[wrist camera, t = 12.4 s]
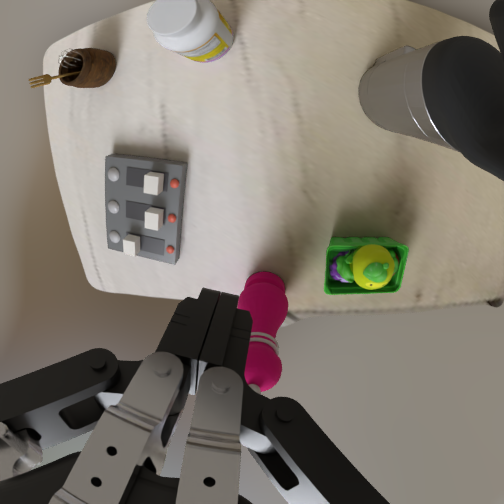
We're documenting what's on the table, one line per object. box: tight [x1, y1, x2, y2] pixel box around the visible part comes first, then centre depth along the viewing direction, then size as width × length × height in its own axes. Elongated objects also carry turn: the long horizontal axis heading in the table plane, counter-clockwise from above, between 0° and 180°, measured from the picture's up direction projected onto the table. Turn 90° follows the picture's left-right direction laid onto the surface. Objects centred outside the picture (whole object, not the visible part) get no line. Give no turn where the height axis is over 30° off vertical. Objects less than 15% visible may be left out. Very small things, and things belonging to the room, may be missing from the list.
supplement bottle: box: [147, 0, 233, 63], centre depth 21 cm, size 7×7×13 cm
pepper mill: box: [238, 272, 288, 394], centre depth 35 cm, size 7×7×20 cm
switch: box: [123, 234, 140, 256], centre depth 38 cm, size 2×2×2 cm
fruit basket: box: [324, 237, 409, 295], centre depth 34 cm, size 11×9×11 cm
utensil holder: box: [29, 48, 116, 88], centre depth 24 cm, size 6×6×12 cm
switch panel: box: [105, 154, 187, 265], centre depth 38 cm, size 15×12×2 cm
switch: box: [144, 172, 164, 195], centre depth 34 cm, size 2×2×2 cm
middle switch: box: [145, 207, 164, 231], centre depth 36 cm, size 2×2×2 cm
